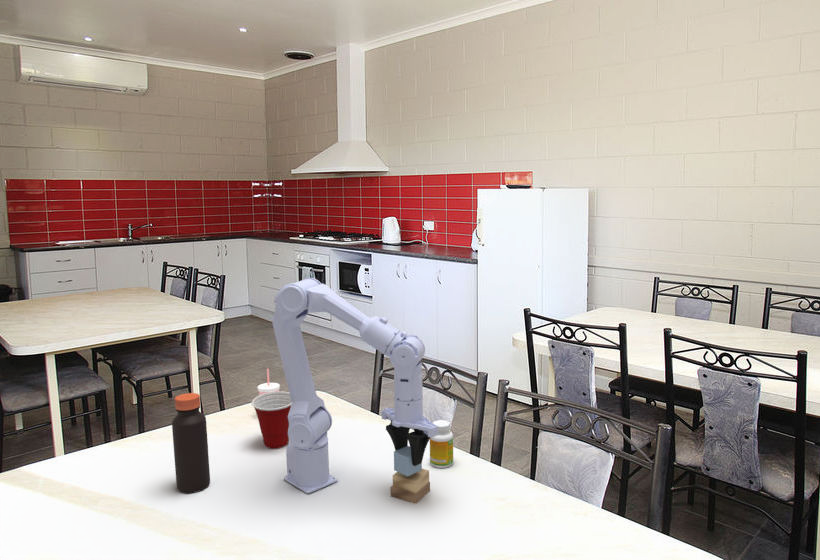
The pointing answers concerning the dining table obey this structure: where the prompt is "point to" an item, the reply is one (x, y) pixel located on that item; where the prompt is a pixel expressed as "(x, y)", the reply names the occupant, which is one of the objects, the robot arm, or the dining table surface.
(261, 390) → the beverage cup
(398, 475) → the oak slab
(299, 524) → the dining table surface
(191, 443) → the vinegar
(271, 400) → the plastic cup
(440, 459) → the supplement bottle
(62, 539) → the dining table surface
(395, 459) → the slate blue cube
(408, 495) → the walnut slab
